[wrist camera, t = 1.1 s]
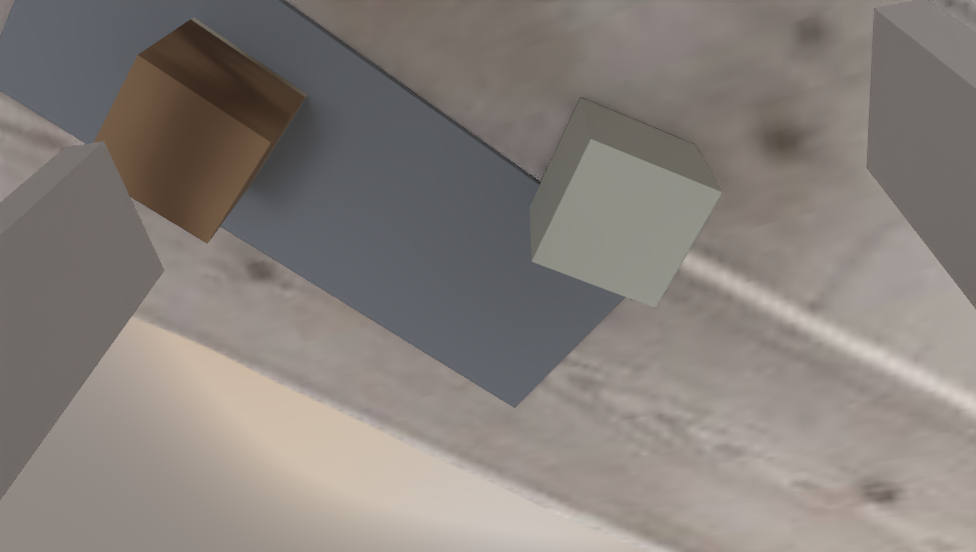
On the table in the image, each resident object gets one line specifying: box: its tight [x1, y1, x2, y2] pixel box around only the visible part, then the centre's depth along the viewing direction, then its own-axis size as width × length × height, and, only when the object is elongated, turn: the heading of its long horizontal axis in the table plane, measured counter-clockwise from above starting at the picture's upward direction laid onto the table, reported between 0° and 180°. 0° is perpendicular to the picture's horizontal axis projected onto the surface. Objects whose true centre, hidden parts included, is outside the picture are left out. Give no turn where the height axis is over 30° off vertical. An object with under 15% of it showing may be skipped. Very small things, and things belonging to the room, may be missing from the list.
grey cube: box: [529, 98, 723, 308], centre depth 38 cm, size 6×6×6 cm
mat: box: [0, 0, 625, 408], centre depth 42 cm, size 32×12×1 cm, turn 54°
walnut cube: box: [93, 17, 308, 243], centre depth 38 cm, size 6×6×6 cm
